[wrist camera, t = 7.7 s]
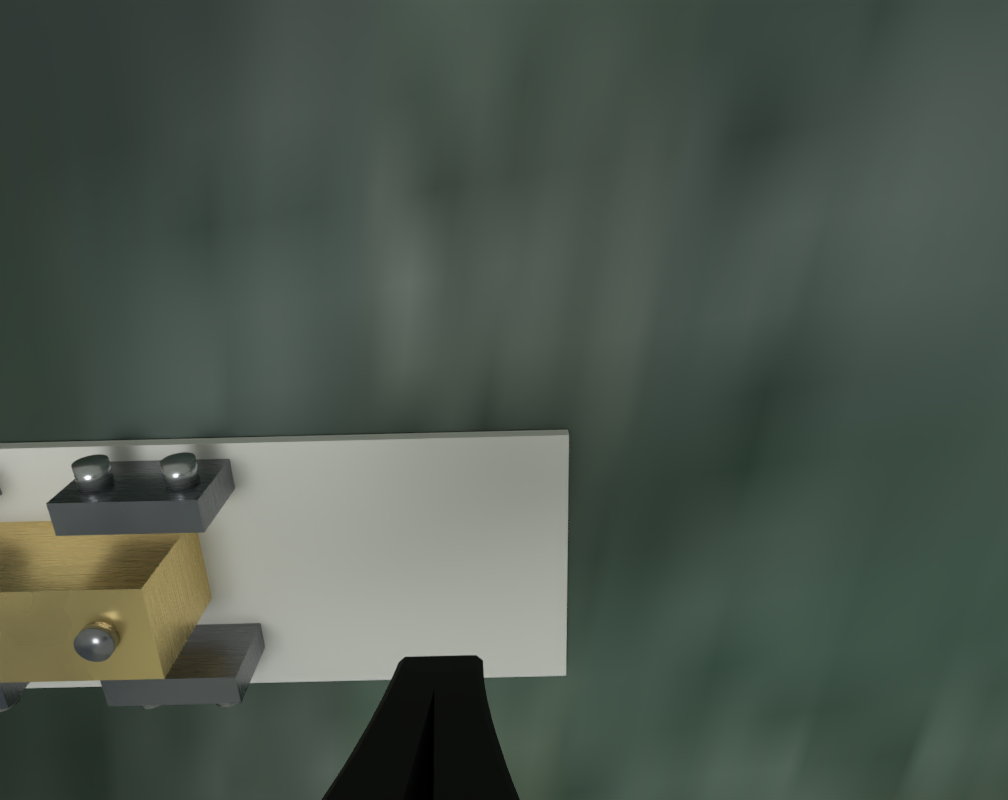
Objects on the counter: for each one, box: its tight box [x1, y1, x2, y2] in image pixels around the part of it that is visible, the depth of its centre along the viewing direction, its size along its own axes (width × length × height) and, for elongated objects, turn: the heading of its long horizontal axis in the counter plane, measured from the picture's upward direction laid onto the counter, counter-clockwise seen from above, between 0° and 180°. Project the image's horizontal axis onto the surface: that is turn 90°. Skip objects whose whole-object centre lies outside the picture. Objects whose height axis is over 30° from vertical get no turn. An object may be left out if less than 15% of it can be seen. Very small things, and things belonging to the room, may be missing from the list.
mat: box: [0, 429, 569, 688], centre depth 23 cm, size 9×23×1 cm, turn 91°
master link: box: [0, 521, 212, 683], centre depth 20 cm, size 3×8×4 cm, turn 91°
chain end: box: [46, 452, 265, 709], centre depth 21 cm, size 8×4×2 cm, turn 1°
